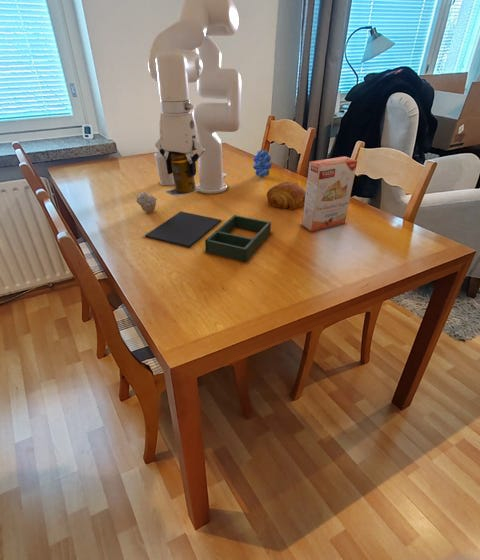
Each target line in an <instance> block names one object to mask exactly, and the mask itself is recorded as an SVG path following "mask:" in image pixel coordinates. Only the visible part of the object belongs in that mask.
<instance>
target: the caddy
mask: <svg viewBox="0 0 480 560" xmlns="http://www.w3.org/2000/svg"><path fill="white" fill-rule="evenodd" d="M271 227H272V222H271V221H267V220H261V219H256V218H251V217H246V216H241V215H237V214H234V215H232V216H231V217H230V218H229V219H228V220H227V221H225V222H224V223H223V224H222V225H221V226H220V227H218V228H217V229H216V230H215V231H214V232H213V233H211V234H210V235H209V236H208V237H207V238H206V239H205V240H204V245H205V253H207V254H210V255H214V256H217V257H218V256H219V257H223V258H227V259H231V260H235V261H238V262H239V261H240V262H244V263H247V261H248V260H249V259H250V258H251V257H252V256H253V254H254V253H255V252H256V251H257V250H258V249H259V247H260V246H261V245H262V244H263V243H264V241H265V240H267V239H268V237H269V236H270V235H271V229H272V228H271ZM235 228H237V229H240V230H246V231H250V232H255V233H256V234H255V236H253V238H251V237H247V236H244V235H243V236H242V235H238V234H233V233H232V232H233V231H234V230H235Z"/></svg>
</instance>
